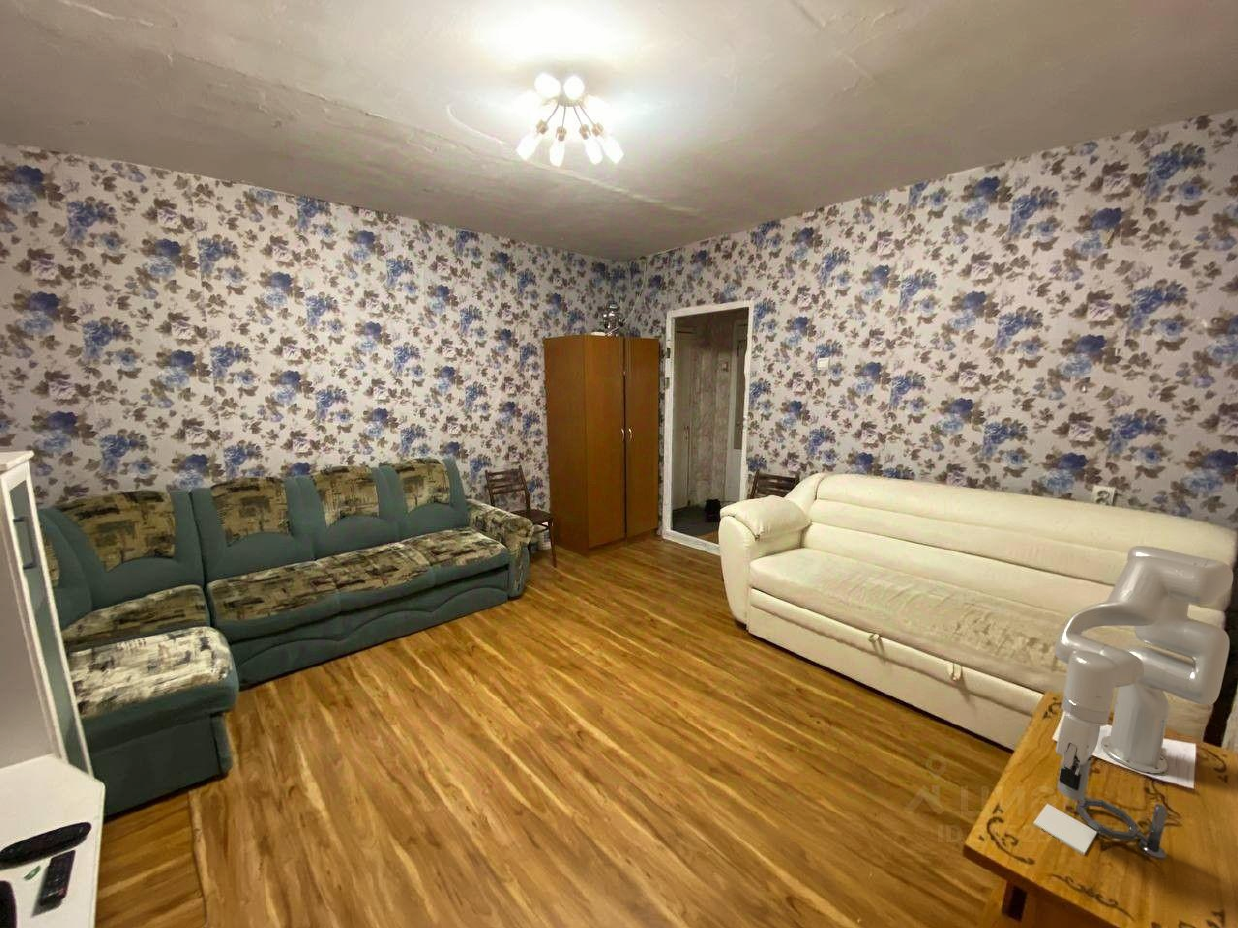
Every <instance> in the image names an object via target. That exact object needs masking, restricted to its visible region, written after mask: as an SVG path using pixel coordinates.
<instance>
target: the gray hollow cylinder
mask: <svg viewBox="0 0 1238 928" xmlns="http://www.w3.org/2000/svg"><path fill="white" fill-rule="evenodd" d="M1064 755H1065V752H1064V753H1063V754H1062V759H1061V763H1060V770H1059V776H1058V781H1057V789H1058V791H1059V792H1060V793H1061V794H1062V795H1064V796H1065V797H1067V798H1069V799H1072V800H1074V801H1080V800H1083V799H1084V797H1085V796H1086V791H1087V785H1088V780H1089V775H1090V768H1091V764H1092V755H1091V756H1090V758H1089V759H1088V760H1087V762H1086V763H1085V764H1083V765H1081V769H1080V773H1079V774H1081V779H1080V785H1079V789H1078V790H1074V789H1072V788H1070V787H1068V786H1067V785H1065V784H1063V783H1061V782H1060V781H1059V779H1060V773H1061V767H1062V764H1063V760H1064ZM1075 758H1076V759H1078V758H1077V757H1076V756H1075ZM1073 765H1074V766H1075V767H1076V766H1077V763H1075V762H1073ZM1085 798H1086V797H1085Z"/></svg>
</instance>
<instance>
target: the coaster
mask: <svg viewBox="0 0 1238 928" xmlns="http://www.w3.org/2000/svg"><path fill="white" fill-rule="evenodd" d="M1032 825H1033V826H1034V827H1036V826H1037V827H1036V828H1038V827H1039V828H1041V829H1043V830H1044V831H1046V832H1048V833H1049V834H1051V835H1052V836H1051V835H1050V836H1051V837H1053V836H1054V837H1056V838H1057V839H1056V838H1055V839H1056V840H1058V839H1059V840H1060V841H1059V840H1058V841H1059V842H1061V843H1063V844H1064V845H1066V846H1068V847H1069V848H1071V849H1073V850H1074V851H1076V852H1078V853H1079V854H1081V855H1083V856H1085V855H1086V853H1087V851H1088V850H1089V848H1090V846H1091V845H1092V843H1093V841H1094V839H1095V837H1096V836H1097V834H1098V830H1096V829H1094V828H1093V827H1091V826H1089V825H1087V824H1084V823H1082V822H1081V821H1079V820H1078V819H1075V817H1074V818H1073V817H1072V816H1070V815H1069V814H1066V813H1065V812H1063V811H1062V810H1060V809H1057V808H1055V807H1054V806H1053V805H1050V804H1048V803H1046V805H1045V806H1043V809H1042V810H1041V811H1040V812H1039V814H1038V815H1037V817H1036V818H1035V819H1034V820H1033V823H1032ZM1039 828H1038V829H1039ZM1041 829H1040V830H1041ZM1043 830H1042V831H1043ZM1044 831H1043V832H1044ZM1046 832H1045V833H1046ZM1048 833H1047V834H1048ZM1049 834H1048V835H1049ZM1054 837H1053V838H1054Z"/></svg>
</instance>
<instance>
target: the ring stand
mask: <svg viewBox="0 0 1238 928" xmlns="http://www.w3.org/2000/svg"><path fill="white" fill-rule="evenodd" d="M1090 807H1097V808H1102V809H1104V810H1106V811H1108V812H1110V813H1112V814H1114V815H1115V816H1117V817H1119V818H1121V819H1122V820H1123V821H1124V822H1125V824H1126V825H1128V828H1129V829H1128V831H1121V830H1116V829H1115V830H1114V829H1113V830H1112V829H1111V828H1110V827H1107V826H1105V825H1103V824H1102V823H1100V822H1098V821H1096V820H1094V819H1093V818H1092V817H1091V815H1089V813H1088V812H1087V811H1090ZM1153 808H1154V809H1153V812H1152V813H1153V814H1152V818H1151V823H1150V829H1149V832H1148V835H1145V834H1144V833H1142V832H1140V831H1139V829H1140V826H1139V825H1138V824H1137V823H1136V822H1135V821H1134V820H1133V819H1132V817H1131V816H1129V815H1128V813H1127V811H1125V810H1123V809H1121V808H1119V807H1117V806H1115V805H1113V804H1111V803H1109V802H1107V801H1106V800H1103V799H1099V798H1092V797H1091V798H1090V797H1084V799H1083V800H1079V802H1078V803H1077V805H1076V812H1077V814H1079V816H1080V817H1081V818H1082V819H1083V820H1084V822H1085V823H1086V825H1087V826H1088V827H1090V828H1092V829H1093V830H1095V831H1097V834H1096V836H1098V837H1101V838H1103V834H1104V835H1105V836H1107V837H1109V838H1111V839H1113V840H1121V841H1127V842H1135V839H1136V838H1138V840H1139V839H1140V841H1139V843H1138V846H1139V848H1140V849H1141V851H1142V852H1143V853H1145V854H1146V855H1148V856H1150V857H1152V858H1154V859H1157V860H1165V859H1166V857H1167V853H1166V851H1165V850H1164V849H1163V848H1162V847H1160V845H1161V842H1162V837H1163V833H1164V829H1165V828H1164V827H1165V823H1166V818H1167V814H1168V809H1167V807H1165V806H1163V805H1161V804H1157V803H1156V804H1154V807H1153Z"/></svg>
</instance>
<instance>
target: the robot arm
mask: <svg viewBox="0 0 1238 928" xmlns="http://www.w3.org/2000/svg"><path fill="white" fill-rule="evenodd" d="M1126 557H1127V558H1126V559H1127V562H1126V564H1125V565H1124V568H1123V569H1122V570H1121V573H1120V574H1119V577H1118V579H1117V580H1116V583H1115V585H1114V587H1113V588H1112V591H1111V592H1110V594H1109V596H1108V599H1107V600H1106V601H1102V602H1099V603H1096V604H1093V605H1090V606H1087V607H1084V608H1082V609H1081V610H1078V611H1076V612H1075V613H1074V614H1073V615H1071V616H1070V617H1069V618H1068V619H1067V621H1066V623H1065V624H1064V625H1063V627H1062V629H1061V631H1060V633H1059V634H1058V637H1057V639H1056V642H1055V645H1054V654H1055V656H1056V657H1057V659H1059V660H1060V661H1061V662H1062V663H1063V664H1065V665H1068V666H1067V670H1066V677H1065V681H1064V682H1065V683H1064V687H1063V696H1062V702H1061V710H1062V711H1063V712H1064V714H1063V718H1062V722H1061V725H1060V729H1059V733H1058V738H1057V744H1056V747H1055V752H1056V755H1060V756H1063V753H1064V752H1065V755H1064V760H1063V764H1062V767H1061V766H1060V769H1061V773H1060V772H1059V775H1060V779H1059V778H1058V781H1060V782H1061V783H1063V784H1065V785H1067V786H1068V787H1070V788H1072V789H1074V790H1078V789H1079V785H1080V779H1081V774H1079V773H1080V769H1081V765H1083V764H1085V763H1086V762H1087V760H1088V759H1089V758H1090V756H1091V757H1092V755H1093V753H1094V752H1095V750H1096V747H1097V745H1098V741H1099V736H1100V731H1101V727H1103V726H1107V725H1108V723H1109V720H1110V714H1111V708H1112V703H1113V698H1114V692H1115V689H1117V688H1118V690H1117V698H1116V703H1115V707H1114V708H1115V709H1114V713H1113V718H1112V719H1113V720H1112V724H1111V730H1110V735H1106V736H1104V737H1102V738H1101V740H1100V746H1101V749H1102V750H1103V751H1104V752H1105V754H1107V755H1108V756H1110V757H1111V758H1112V759H1113V760H1115V761H1116V762H1119V763H1121V764H1122V765H1124V766H1126V767H1129V768H1131V769H1134V770H1136V771H1140V772H1143V773H1147V772H1150V773H1149V774H1154V773H1159V774H1163V773H1162V772H1164V773H1165V772H1166V771H1167V769H1168V763H1167V761H1166V759H1164V757H1163V756H1161V753H1162V748H1163V745H1164V744H1163V743H1164V738H1165V734H1166V728H1167V723H1168V720H1169V716H1170V711H1171V710H1170V709H1171V707H1170V702H1169V700H1168V697H1167V696H1166V694H1165V693H1167V694H1169V695H1173V696H1175V697H1178V698H1181V699H1183V700H1186V701H1189V702H1191V703H1194V704H1198V705H1201V706H1210V705H1212V704H1214V703H1215V702H1216V701H1217V699H1218V697H1219V696H1220V692H1221V689H1222V683H1223V679H1224V675H1225V671H1226V666H1227V661H1228V658H1229V651H1230V637H1229V635H1228V634H1227V632H1226V631H1225V629H1223V628H1221V627H1220V626H1217V625H1214V624H1212V623H1208V622H1206V621H1203V620H1202V621H1200V620H1197V619H1194V618H1191V617H1189V616H1188V611H1189V606H1190V604H1194V605H1195V604H1196V605H1201V606H1205V605H1210V604H1212V603H1213V602H1214V601H1215V602H1216V600H1217V599H1219V598H1221V597H1222V596H1224V595H1225V594H1226V593H1228V592H1229V590H1230V589H1231V587H1232V584H1233V581H1234V572H1233V570H1232V568H1231V567H1230V565H1228V564H1227V563H1225V562H1223V561H1221V560H1216V559H1212V558H1206V557H1202V556H1197V555H1192V554H1188V553H1182V552H1179V551H1175V550H1170V549H1165V548H1159V547H1155V546H1153V547H1152V546H1147V545H1143V546H1142V545H1138V546H1134V547H1131V548H1130V549H1129V550H1128V552H1127V556H1126ZM1111 626H1112V627H1114V626H1115V627H1116V626H1117V627H1118V626H1120V627H1133V632H1134V635H1135V637H1136V638H1137V639H1138V640H1140V641H1141V642H1143V643H1146V644H1148V645H1150V646H1153V647H1156V648H1158V649H1159V648H1160V649H1162V650H1164V651H1162V650H1158V649H1155V648H1152V647H1148V646H1146V645H1141V644H1140V645H1138V644H1130V645H1127V646H1125V647H1123V648H1122V649H1121V648H1119V647H1116V646H1114V645H1113V646H1112V645H1110V644H1107V643H1105V642H1101V641H1099V640H1096V639H1093V638H1091V637H1087V636H1086V635H1083V634H1084V633H1085V632H1086V631H1089V630H1091V629H1093V628H1094V629H1095V628H1098V627H1111ZM1165 650H1166V651H1168V652H1171V653H1174V654H1177V655H1180V656H1183V657H1187V658H1189V659H1191V660H1192V661H1191V660H1188V659H1185V658H1183V657H1179V656H1175V655H1174V654H1170V653H1168V652H1165ZM1075 756H1076V757H1077V758H1078V759H1076V758H1075ZM1073 762H1075V763H1077V766H1076V767H1075V766H1074V765H1073ZM1160 772H1161V773H1160Z"/></svg>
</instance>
